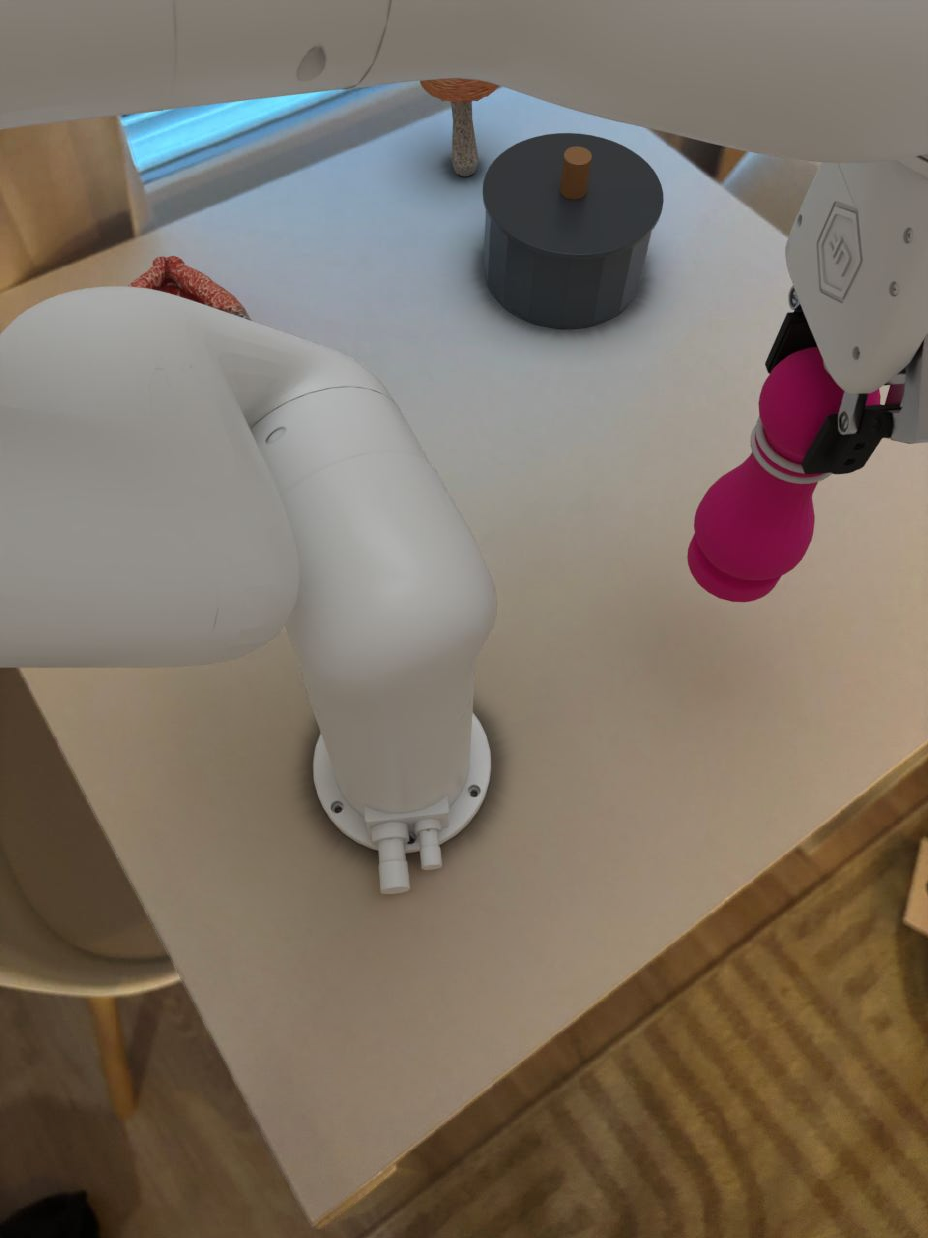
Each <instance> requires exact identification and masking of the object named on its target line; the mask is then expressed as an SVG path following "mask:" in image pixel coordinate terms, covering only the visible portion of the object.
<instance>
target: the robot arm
mask: <svg viewBox="0 0 928 1238" xmlns="http://www.w3.org/2000/svg"><path fill="white" fill-rule="evenodd" d="M453 78H461V79H473V80H480V81H485V82H489V83H493V84H496V85H499V87H503V88H505V89H509V90H512V91H515V92H517V93H521V94H524V95H526V96H529V97H531V98H534V99H537V100H540V101H544V102H546V103H548V104H553V105H556V106H559V107H561V108H565V109H569V110H572V111H575V112H579V113H583V114H585V115H591V116H594V117H598V118H601V119H605V120H610V121H614V122H618V123H622V124H627V125H632V126H635V127H641V128H645V129H650V130H654V131H658V132H659V131H660V132H664V133H668V134H672V135H676V136H680V137H684V138H688V139H691V140H696V141H700V142H703V143H707V144H712V145H717V146H721V147H725V148H729V149H733V150H738V151H741V152H747V153H748V152H749V153H753V154H759V155H764V156H769V157H775V158H780V159H786V160H787V159H789V160H795V161H807V162H812V163H813V162H814V163H819V164H820V165H819V167H818V168H817V170H816V172H815V176H814V177H813V180H812V181H811V183H810V185H809V188H808V190H807V192H806V194H805V196H804V198H803V201H802V203H801V205H800V207H799V209H798V212H797V215H796V217H795V219H794V221H793V224H792V225H791V226H792V227H791V229H790V232H789V235H788V237H787V240H786V244H785V248H784V255H785V256H784V257H785V264H786V268H787V272H788V274H789V279H790V280H791V283H792V286H791V287H790V289H789V291H788V306H789V308H790V310H792V312H786V314H785V316H784V318H783V321H782V323H781V325H780V327H779V330H778V332H777V335H776V337H775V339H774V341H773V344H772V347H771V349H770V351H769V353H768V356H767V358H766V360H765V363H764V366H765V369H766V371H767V373H768V374H770V373H771V372H772V370H773V369H774V367H775V366H777V365H778V364H779V363H780V362H781V361H782V360H784V359H785V358H786V357H787V356H789V355H791V354H793V353H795V352H797V351H800V350H803V349H807V348H810V347H818V348H819V351H820V353H821V356H822V358H823V360H824V362H825V365H826V367H827V369H828V371H829V373H830V375H831V376H832V378H833V379H834V381H835V382H836V383H837V385H838V386H839V387H840V388H841V389H843V390H844V394H843V398H842V402H841V406H840V410H839V413H837V414H831V415H829V416H827V417H826V419H825V420H824V422H823V424H822V426H821V428H820V429H819V431H818V433H817V435H816V437H815V438H814V440H813V442H812V444H811V446H810V447H809V449H808V451H807V453H806V455H805V456H804V458H803V461H802V463H801V465H802V468H803V470H804V473H805V474H807V475H810V474H821V473H832V474H831V475H846V474H847V475H848V474H851V473H854V472H856V471H858V470H861V469H863V468H864V467H865V466H866V464H867V463H868V461H869V460H870V458H871V456H872V455H873V453H874V452H875V450H876V449H877V447H878V446H879V444H880V443H881V441H882V440H883V439H887V440H891V441H892V442H893V441H894V442H898V443H903V444H908V445H913V444H914V445H915V444H926V443H928V0H0V131H1V130H2V131H3V130H9V129H16V128H23V127H31V126H39V125H48V124H58V123H66V122H76V121H84V120H93V119H101V118H112V117H120V116H128V115H136V114H137V115H138V114H147V113H156V112H163V111H170V110H177V109H184V108H194V107H203V106H212V105H218V104H219V105H220V104H228V103H236V102H246V101H254V100H264V99H270V98H279V97H286V96H287V97H288V96H296V95H305V94H313V93H323V92H330V91H331V92H332V91H338V90H344V91H347V90H355V89H362V88H363V89H364V88H370V87H378V86H386V85H393V84H403V83H409V82H420V81H423V80H435V79H453ZM884 386H889V388H888V391H887V394H886V399H885V401H884V404H881V403H880V404H879V405H867V406H865V405H866V401H867V398H868V394H869V393H872V392H874V391H876V390H878V389H879V390H880V388H882V387H884ZM497 614H498V597H497V590H496V586H495V582H494V579H493V576H492V574H491V571H490V569H489V566H488V563H487V561H486V559H485V557H484V554H483V551H482V550H481V548H480V546H479V544H478V542H477V540H476V538H475V535H474V534H473V532H472V531H471V528H470V526H469V525H468V523H467V522H466V519H465V517H464V515H463V514H462V512H461V510H460V509H459V507H458V506H457V504H456V502H455V501H454V499H453V497H452V495H451V493H450V492H449V490H448V488H447V486H446V485H445V483H444V481H443V480H442V477H441V476H440V474H439V472H438V470H437V469H436V468H435V467H434V466H433V464H432V462H431V460H430V459H429V457H428V455H427V454H426V452H425V450H424V449H423V446H422V445H421V442H420V441H419V440H418V437H417V435H415V433H414V431H413V429H412V427H411V425H410V424H409V422H408V420H407V419H406V417H405V415H404V413H403V412H402V410H401V408H400V407H399V405H398V403H397V402H396V400H395V399H394V397H393V396H392V394H391V393H390V391H389V390H388V388H387V387H386V386H385V384H384V383H383V381H381V379H380V378H379V377H378V375H376V374H375V373H374V372H373V371H371V370H370V369H369V368H368V367H366V366H365V365H364V364H362V363H361V362H360V361H357V360H356V359H354V358H352V357H351V356H348V355H346V354H345V353H342V352H340V351H338V350H335V349H334V348H333V349H332V348H330V347H327V346H325V345H323V344H320V343H316V342H315V341H310V340H308V339H305V338H302V337H299V336H296V335H293V334H291V333H288V332H285V331H282V330H279V329H276V328H274V327H271V326H267V325H265V324H262V323H259V322H256V321H253V320H251V321H250V320H247V319H244V318H241V317H239V316H236V315H233V314H230V313H227V312H224V311H221V310H218V309H215V308H212V307H210V306H207V305H204V304H201V303H198V302H195V301H192V300H189V299H186V298H182V297H179V296H176V295H173V294H170V293H166V292H161V291H157V290H152V289H148V288H138V287H129V286H128V285H112V286H109V285H108V286H94V287H93V286H92V287H86V288H80V289H75V290H70V291H67V292H63V293H60V294H57V295H55V296H51V297H49V298H47V299H44V300H43V301H40V302H38V303H36V304H35V305H33V306H31V307H29V308H28V309H26V310H25V311H23V312H22V313H21V314H19V315H18V316H17V317H15V319H13V320H12V321H11V322H10V323H9V324H8V325H7V326H6V327H5V329H3V330H2V332H1V333H0V668H1V669H5V668H7V669H8V668H9V669H10V668H11V669H17V668H18V669H20V668H21V669H162V668H164V669H165V668H166V669H167V668H186V667H199V666H209V665H214V664H221V663H225V662H229V661H233V660H237V659H239V658H243V657H246V656H248V655H250V654H251V653H254V652H256V651H257V650H259V649H260V648H262V647H264V646H265V645H267V644H269V643H270V642H271V641H272V640H274V639H275V638H276V637H277V636H278V635H279V634H280V633H281V631H282V630H283V628H284V629H285V631H286V634H287V635H288V638H289V640H290V643H291V646H292V648H293V651H294V654H295V656H296V659H297V661H298V664H299V667H300V674H301V679H302V682H303V685H304V689H305V692H306V695H307V697H308V698H307V699H308V700H309V704H310V707H311V710H312V711H313V713H314V716H315V720H316V723H317V727H318V728H319V732H320V733H319V736H318V738H317V741H316V745H315V748H314V754H313V759H312V761H313V762H312V769H313V770H312V771H313V783H314V786H315V790H316V794H317V798H318V800H319V802H320V804H321V807H322V808H323V810H324V812H325V813H326V815H327V816H328V818H329V820H330V821H331V822H332V823H333V824H334V825H335V826H336V827H337V829H339V831H340V832H341V833H343V834H344V835H345V836H346V837H348V838H349V839H351V840H353V841H354V842H355V843H357V844H359V845H362V846H364V847H366V848H368V849H370V850H374V851H377V852H378V862H379V863H378V875H379V876H378V877H379V888H380V889H379V890H380V894H384V895H394V894H395V895H396V894H402V893H405V892H408V891H410V890H411V884H410V874H409V863H408V861H407V856H406V854H413V853H418V852H419V858H420V860H419V861H420V868H421V870H423V871H433V870H438V869H441V868H442V867H443V860H442V851H441V846H440V845H442V844H444V843H445V842H448V841H449V840H451V839H452V838H454V837H456V836H457V835H458V834H459V833H461V831H463V830H464V829H465V828H466V827H467V826H468V825H469V824H470V823H471V821H472V820H473V819H474V817H475V816H476V815H477V813H479V811H480V808H481V807H482V805H483V802H484V800H485V798H486V796H487V792H488V789H489V785H490V781H491V773H492V754H491V749H490V748H491V747H490V744H489V740H488V739H489V738H488V736H487V734H486V731H485V730H484V727H483V725H482V723H481V721H480V720H479V718H478V717H477V716H476V714H475V713H474V694H475V673H476V672H475V671H476V663H477V658H478V656H479V654H480V652H481V651H482V649H483V647H484V646H485V644H486V643H487V641H488V639H489V637H490V635H491V633H492V631H493V629H494V627H495V622H496V619H497V616H498V615H497ZM472 793H476V794H477V795H476V796H472V795H471V794H472ZM338 808H339V809H341V810H340V811H339V812H336V809H338ZM410 839H412V840H413V842H412V843H408V842H410Z"/></svg>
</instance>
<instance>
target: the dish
mask: <svg viewBox="0 0 928 1238" xmlns="http://www.w3.org/2000/svg"><path fill="white" fill-rule="evenodd" d="M127 286H129V287H138V288H148V289H152V290H157V291H161V292H166V293H170V294H173V295H176V296H179V297H182V298H186V299H189V300H192V301H195V302H198V303H201V304H204V305H207V306H210V307H212V308H215V309H218V310H221V311H224V312H227V313H230V314H233V315H236V316H239V317H241V318H244V319H247V320H250V321H252V318H251V317H250V315H249V313H248V311H247V310H246V308H245V307H244V306H243V304H242V303H241V302H240V301H239V300H238V299H237V298H236V296H235V295H233V294H232V293H231V292H229V290H227V289H226V288H224V287H223V286H221V285H220V284H218V283H217V282H215V281H214V280H213V279H212V278H210V277H209V275H206V274H205V273H204V272H202V271H200V270H198V269H196V268H193V267H191V266H189V265H187V264H185V261H184V260H183V259H182V258H180V257H178V256H177V255H170V256H167V257H166V256H163V255H161V256H157V257H155V258H154V259H153V260H152V266H151V267H150V268H149V269H147V270H146V271H145V272H143V274H140V275H139V276H138V277H137V278H135V279H134V280H133V281H132V282H131V283H129V285H127Z"/></svg>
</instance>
